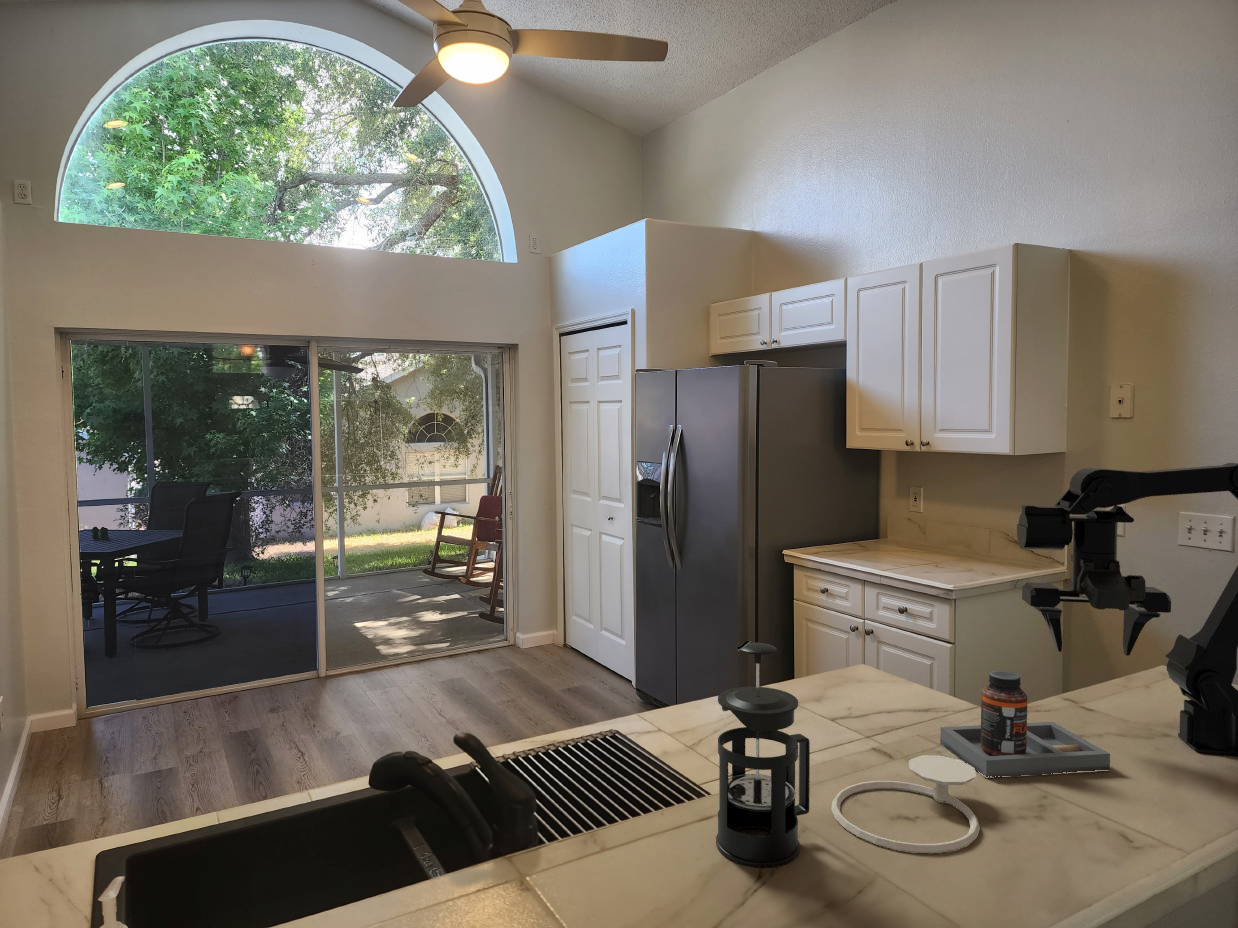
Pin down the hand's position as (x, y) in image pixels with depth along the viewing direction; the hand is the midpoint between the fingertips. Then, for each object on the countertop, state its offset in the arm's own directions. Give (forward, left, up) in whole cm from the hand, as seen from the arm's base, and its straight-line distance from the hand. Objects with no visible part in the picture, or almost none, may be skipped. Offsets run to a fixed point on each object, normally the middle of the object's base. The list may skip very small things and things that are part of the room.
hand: (1092, 653), depth 119 cm
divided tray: (+12, +10, -13) cm, 21 cm away
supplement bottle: (+15, +11, -12) cm, 22 cm away
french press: (+47, +43, -13) cm, 65 cm away
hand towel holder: (+29, +31, -14) cm, 45 cm away
